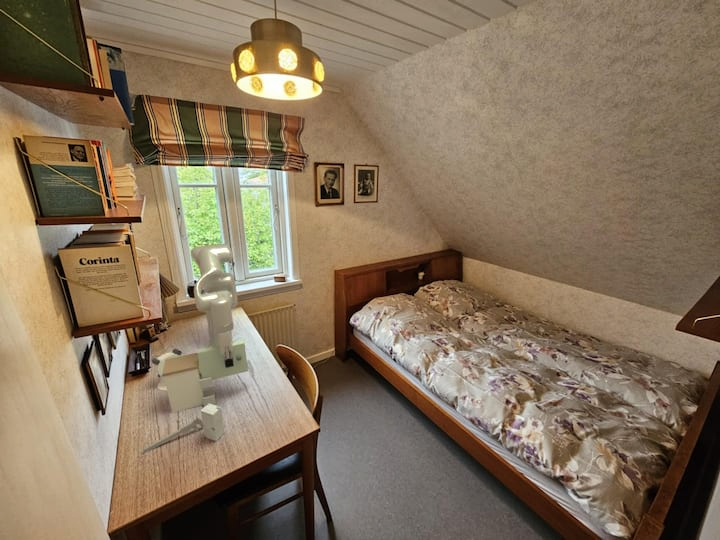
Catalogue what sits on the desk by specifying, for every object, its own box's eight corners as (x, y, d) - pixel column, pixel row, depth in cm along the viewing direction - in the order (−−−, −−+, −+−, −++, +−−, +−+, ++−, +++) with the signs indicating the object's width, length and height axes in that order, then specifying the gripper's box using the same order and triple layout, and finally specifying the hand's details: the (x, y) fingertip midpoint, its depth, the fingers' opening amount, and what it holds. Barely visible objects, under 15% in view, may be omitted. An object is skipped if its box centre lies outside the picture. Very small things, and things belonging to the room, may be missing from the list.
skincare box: (204, 436, 117) (199, 410, 113) (213, 428, 121) (208, 402, 117) (216, 441, 115) (211, 415, 111) (225, 432, 119) (221, 406, 115)
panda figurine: (178, 371, 155) (172, 345, 150) (191, 379, 149) (186, 351, 145) (152, 385, 145) (145, 357, 140) (166, 393, 139) (159, 365, 135)
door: (203, 378, 133) (197, 349, 128) (247, 367, 140) (243, 339, 136) (202, 383, 129) (197, 354, 125) (248, 372, 136) (244, 344, 132)
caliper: (203, 427, 122) (200, 414, 120) (203, 429, 121) (201, 416, 119) (140, 452, 111) (136, 439, 109) (140, 455, 110) (136, 441, 108)
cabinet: (173, 396, 138) (165, 359, 132) (215, 386, 144) (209, 350, 138) (170, 416, 127) (161, 376, 121) (215, 403, 133) (209, 365, 128)
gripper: (213, 319, 134) (219, 356, 140) (213, 337, 120) (220, 377, 126) (232, 316, 137) (237, 352, 143) (234, 333, 123) (240, 372, 129)
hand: (229, 364), depth 134 cm, fingers closed on door, 3 cm apart
